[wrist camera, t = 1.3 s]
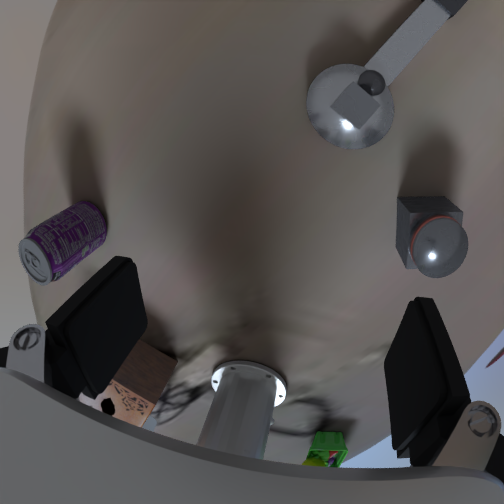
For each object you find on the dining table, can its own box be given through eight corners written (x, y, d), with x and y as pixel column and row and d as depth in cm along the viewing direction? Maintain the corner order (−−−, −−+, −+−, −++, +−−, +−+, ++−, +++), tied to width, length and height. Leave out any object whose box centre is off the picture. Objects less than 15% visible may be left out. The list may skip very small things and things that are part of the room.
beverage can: (73, 233, 40) (19, 272, 29) (75, 192, 36) (14, 225, 26) (107, 252, 40) (55, 298, 29) (112, 209, 36) (51, 250, 26)
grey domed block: (444, 195, 27) (472, 219, 21) (440, 244, 30) (463, 276, 23) (396, 196, 28) (416, 220, 22) (395, 247, 31) (410, 280, 25)
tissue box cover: (108, 317, 47) (76, 354, 38) (178, 360, 48) (155, 405, 39) (97, 379, 60) (77, 408, 51) (148, 410, 60) (131, 442, 52)
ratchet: (441, -51, 13) (461, -72, 7) (493, -3, 14) (521, -15, 8) (290, 110, 27) (284, 110, 21) (352, 161, 28) (362, 174, 22)
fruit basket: (338, 451, 54) (335, 494, 44) (300, 449, 56) (293, 492, 46) (349, 429, 49) (347, 478, 39) (305, 427, 50) (298, 476, 41)
